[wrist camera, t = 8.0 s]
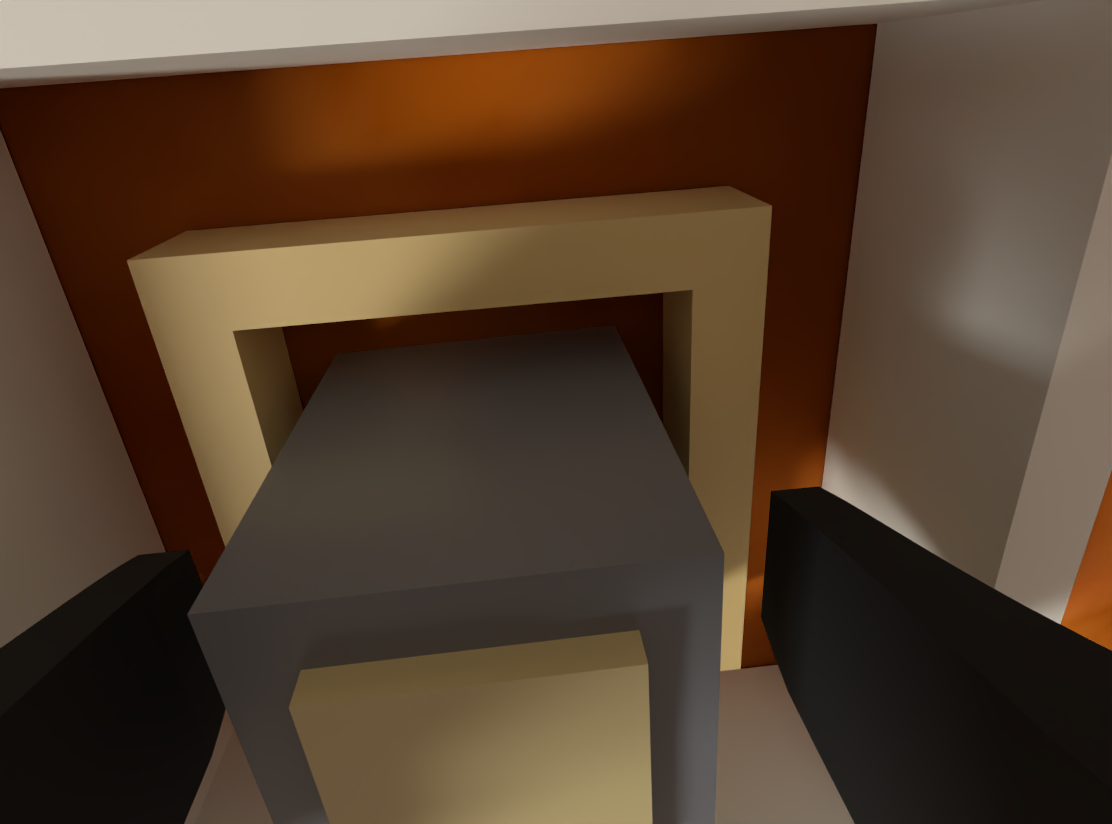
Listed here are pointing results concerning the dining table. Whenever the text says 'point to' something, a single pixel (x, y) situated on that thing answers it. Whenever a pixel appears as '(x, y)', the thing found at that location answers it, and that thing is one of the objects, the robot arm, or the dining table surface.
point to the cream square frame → (621, 270)
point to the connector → (474, 597)
